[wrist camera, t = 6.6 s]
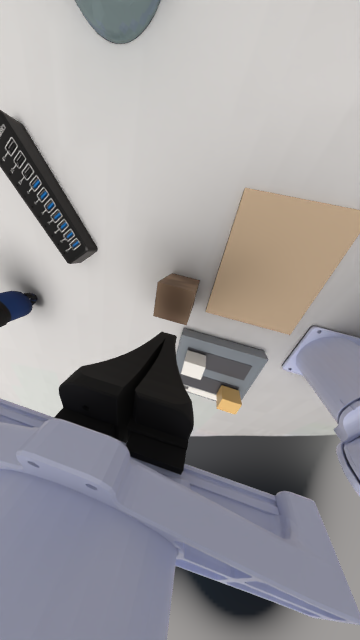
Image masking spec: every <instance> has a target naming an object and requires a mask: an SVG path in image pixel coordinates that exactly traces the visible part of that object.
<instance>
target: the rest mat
mask: <svg viewBox="0 0 360 640" xmlns="http://www.w3.org/2000/svg"><path fill="white" fill-rule="evenodd" d="M359 234H360V210H356V209H351V208H346V207H341V206H336V205H331V204H326V203H320V202H315V201H310V200H305V199H300V198H295V197H290V196H285V195H279V194H274V193H269V192H264V191H259V190H254V189H249V188H245V189H244V192H243V195H242V198H241V201H240V205H239V208H238V211H237V214H236V217H235V220H234V223H233V227H232V230H231V233H230V236H229V239H228V242H227V245H226V248H225V252H224V255H223V258H222V261H221V264H220V267H219V270H218V273H217V277H216V280H215V283H214V286H213V289H212V292H211V295H210V299H209V302H208V305H207V308H206V312H208V313H211V314H215V315H219V316H222V317H226V318H230V319H233V320H237V321H241V322H244V323H248V324H252V325H255V326H259V327H263V328H267V329H270V330H274V331H278V332H281V333H285V334H289V335H290V334H291V333H292V331H293V330H294V328H295V327H296V325H297V324H298V322H299V321H300V320H301V318H302V317H303V315H304V314H305V312H306V311H307V309H308V308H309V306H310V305H311V304H312V302H313V301H314V299H315V298H316V296H317V295H318V293H319V292H320V290H321V289H322V288H323V286H324V285H325V283H326V282H327V280H328V279H329V277H330V276H331V274H332V273H333V271H334V270H335V269H336V267H337V266H338V264H339V263H340V261H341V260H342V258H343V257H344V255H345V254H346V253H347V251H348V250H349V248H350V247H351V245H352V244H353V242H354V241H355V239H356V238H357V237H358V235H359Z"/></svg>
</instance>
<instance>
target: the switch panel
mask: <svg viewBox="0 0 360 640" xmlns="http://www.w3.org/2000/svg"><path fill="white" fill-rule="evenodd" d="M187 350H189V351H192V352H195V353H199V354H202V355H205V356H206V368H205V370H204V373H203V375H202V378H201V380H199V379H196V378H192V377H189V376H186V375H183V374H181V371H182V368H183V364H184V360H185V357H186V353H187ZM176 360H177V365H178V369H179V373H180V376H181V379H182V382H183V384H184V387H185V389H186V391H187V392H189V393H192V394H195V395H198V396H201V397H204V398H208V399H211V400H214V401H217V399H216V394H217V392H218V391H219V389H220V387H221V385H223V386H226V387H229V388H232V389H236V390H239V392H240V398H241V400H242V399H243V397H244V396H245V394H246V393H247V391H248V390H249V388H250V387H251V385H252V384H253V382H254V381H255V379H256V378H257V376H258V375H259V373H260V372H261V370H262V369H263V367H264V366H265V364H266V363H267V361H268V358H267V356H266V354H265V352H264V351H262V350H259V349H255V348H252V347H248V346H245V345H241V344H238V343H234V342H231V341H227V340H224V339H220V338H217V337H213V336H210V335H206V334H203V333H199V332H196V331H192V330H189V329H185V328H184V329H183V332H182V335H181V339H180V343H179V346H178V350H177V354H176Z"/></svg>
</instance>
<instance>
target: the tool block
mask: <svg viewBox="0 0 360 640" xmlns="http://www.w3.org/2000/svg"><path fill="white" fill-rule="evenodd" d="M199 282H200V280H196V279H192V278H188V277H184V276H180V275H177V274H173V273H172V274H170V275H169V276H167V277H165V278H164V279H162V280H160V281H159V282H158V285H157V292H156V300H155V307H154V315H153V316H155V317H159V318H163V319H166V320H170V321H173V322H177V323H180V324H184V325H187V322H188V319H189V316H190V313H191V310H192V308H193V304H194V300H195V297H196V293H197V289H198V285H199Z"/></svg>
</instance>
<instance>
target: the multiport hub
mask: <svg viewBox="0 0 360 640" xmlns="http://www.w3.org/2000/svg"><path fill="white" fill-rule="evenodd" d="M0 167H1V168H2V170H3V171H4V173H5V174H6V175H7V177H8V178H9V180H10V181H11V183H12V184H13V186H14V187H15V188H16V190H17V191H18V193H19V194H20V196H21V197H22V198H23V200H24V201H25V203H26V204H27V206H28V207H29V208H30V210H31V211H32V213H33V214H34V216H35V217H36V218H37V220H38V221H39V223H40V224H41V226H42V227H43V228H44V230H45V231H46V233H47V234H48V236H49V237H50V239H51V240H52V241H53V243H54V244H55V246H56V247H57V249H58V250H59V251H60V253H61V254H62V256H63V257H64V259H65V260H66V261H67V263H69V264H73V263H81V262H82V261H84V260H85V259H87V258H88V257H90V256H91V255H92V254H94V253H95V252H97V246H96V245H95V243H94V241H93V240H92V238H91V236H90V235H89V233H88V232H87V230H86V228H85V227H84V225H83V223H82V222H81V220H80V218H79V217H78V215H77V213H76V212H75V210H74V208H73V207H72V205H71V204H70V202H69V200H68V199H67V197H66V195H65V194H64V192H63V190H62V189H61V187H60V185H59V184H58V182H57V180H56V179H55V177H54V176H53V174H52V172H51V171H50V169H49V167H48V166H47V164H46V162H45V161H44V159H43V157H42V156H41V154H40V152H39V151H38V149H37V148H36V146H35V144H34V143H33V141H32V139H31V138H30V136H29V134H28V133H27V131H26V129H25V128H24V126H23V125H22V124H21V123H19V122H18V121H16V120H15V119H13V118H12V117H10V116H9V115H7V114H6V113H4V112H3V111H1V110H0Z"/></svg>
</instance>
